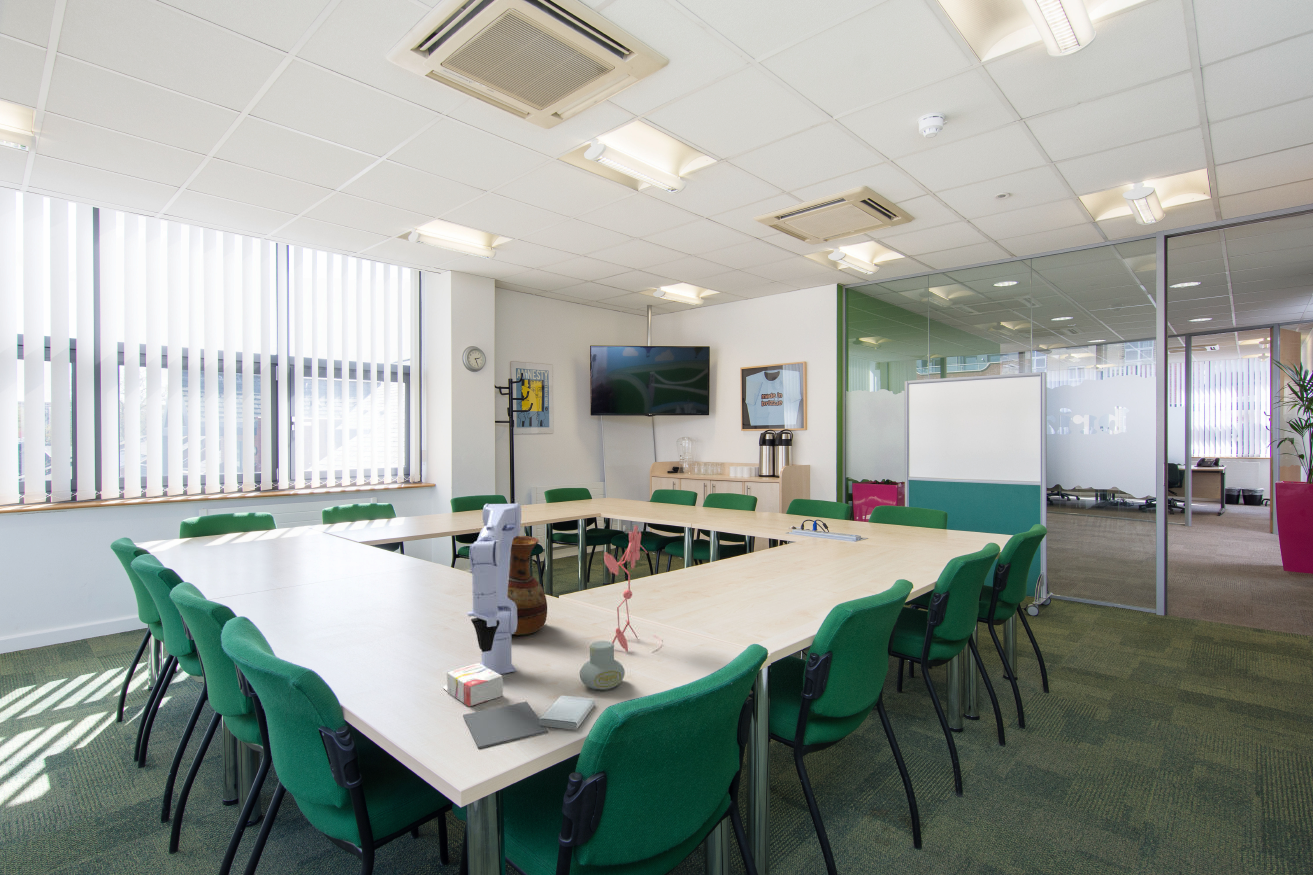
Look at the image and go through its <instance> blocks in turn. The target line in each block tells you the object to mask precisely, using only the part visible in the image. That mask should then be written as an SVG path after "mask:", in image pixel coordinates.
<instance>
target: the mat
mask: <svg viewBox="0 0 1313 875" xmlns="http://www.w3.org/2000/svg"><path fill="white" fill-rule="evenodd" d="M462 718H463V719H464V721H465V724H466V726H467V727H468V730H469V732H470V734H471V736H472V739H473V741H474V743H475V745H476V746H477V749H478V750H479V749H485V748H488V747H493V746H496V745H501V744H504V743H509V741H510V742H513V741H514V742H515V741H519V740H522V739H525V738H530V736H531V737H535V736H538V735H543V734H547V733H549V729H548V728H547V726H541V725H540V724H539V722H540V721H539V720H540V718H541V717H539V716H538V715H537V712H536V711H535V710H534V709H533V708H532V707H531V705H530V704H529V702H527V701H522V702H517V703H512V704H508V705H503V706H499V707H494V708H489V709H485V710H479V711H474V712H470V713H465V714H463V715H462ZM521 738H522V739H521Z"/></svg>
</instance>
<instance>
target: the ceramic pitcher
mask: <svg viewBox="0 0 1313 875" xmlns="http://www.w3.org/2000/svg"><path fill="white" fill-rule="evenodd" d="M539 542H540V541H539V539H537V538H536V537H533V536H528V535H525V536H524V535H518V536H516V537H515V538H513V542H512V546H511V555H510V568H509V582H508V595H507V597H508V598H509V599H510V600H512V601H513V602H514V603H515V604H516V606H517V629H516V632H515V633H514V634H515V636H516V635H517V636H521V634H522V635H527V634H533V633H535V632H537V631H539V630H541V629H542V628H543V627H544V626H545V624H546V621H547V617H548V602H547V598H546V597H547V596H546V594H545V590H544V589H543V586H542V585H541V583H540V582H539V581H538V579H536V578H535V577H534V576H533V575H532V574H531V572H530V566H529V565H530V558H531V554H532V552H533V551H532V550H533V549H534V548H535V546H537V544H538V543H539ZM514 634H513V635H514Z"/></svg>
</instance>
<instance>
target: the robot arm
mask: <svg viewBox="0 0 1313 875" xmlns="http://www.w3.org/2000/svg"><path fill="white" fill-rule="evenodd" d="M482 523H483V527H482V528H481V529H480V532H479V535H478V537H477V540H476V541H474V542H473V543H471V544H470V546H469V551H468V552H469V553H468V558H469V565H470V574H471V575H472V576H471V577H472V579H471V580H472V584H471V585H472V610H471V611H467V613H466V614H467V616H468V617H474V618H471V619H470V621H471V622H472V625H473V627H474V630H475V634H476V638H477V643H478V647H479V649H480V650H481V663H480V662H478V663H479V664H481V665H483V666H485V667H487V668H489V669H490V670H492V671H494V672H496V673H498V674H500V675H505V674H508V673H515V672H517V668H516V667H515V666H514V665H513V663H512V657H513V656H512V654H513V652H512V635H514V633H515V632H516V629H517V606H516V604H515V603H514V602H513V601H512V600H510V599H509V598H508V597H507V595H508V582H509V568H510V555H511V546H512V542H513V538H515V537H516V536H520V531H521V528H522V527H521V526H522V525H521V524H522V506H521V505H520V503H519V502H516V503H485V504H484V505H483V509H482Z"/></svg>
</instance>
